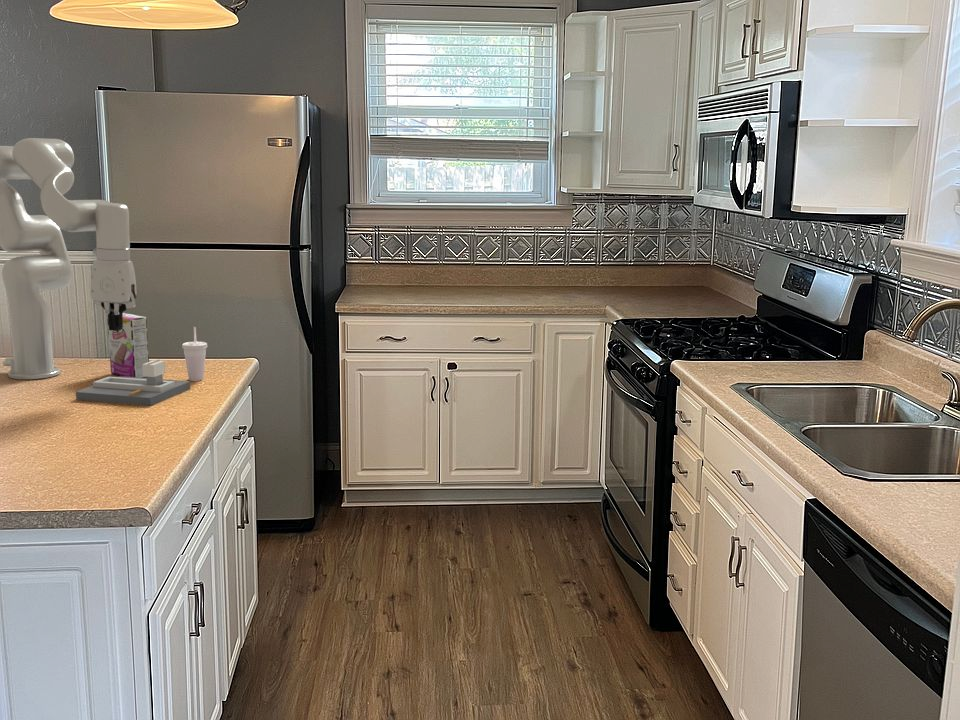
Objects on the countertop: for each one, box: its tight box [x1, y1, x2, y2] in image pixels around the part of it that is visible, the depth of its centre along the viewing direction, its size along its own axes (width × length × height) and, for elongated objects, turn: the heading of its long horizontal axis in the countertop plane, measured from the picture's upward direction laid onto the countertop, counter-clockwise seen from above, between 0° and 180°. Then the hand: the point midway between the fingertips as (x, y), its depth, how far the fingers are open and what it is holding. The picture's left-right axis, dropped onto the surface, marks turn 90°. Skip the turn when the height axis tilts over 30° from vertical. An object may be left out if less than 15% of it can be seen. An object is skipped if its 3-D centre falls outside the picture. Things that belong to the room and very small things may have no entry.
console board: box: [75, 375, 191, 407], centre depth 236 cm, size 20×18×3 cm
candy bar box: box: [106, 312, 150, 378], centre depth 255 cm, size 11×5×16 cm, turn 54°
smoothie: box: [181, 326, 208, 382], centre depth 252 cm, size 6×6×14 cm
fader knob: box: [142, 359, 166, 386], centre depth 234 cm, size 3×5×6 cm, turn 167°
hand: (115, 329), depth 234 cm, fingers closed
